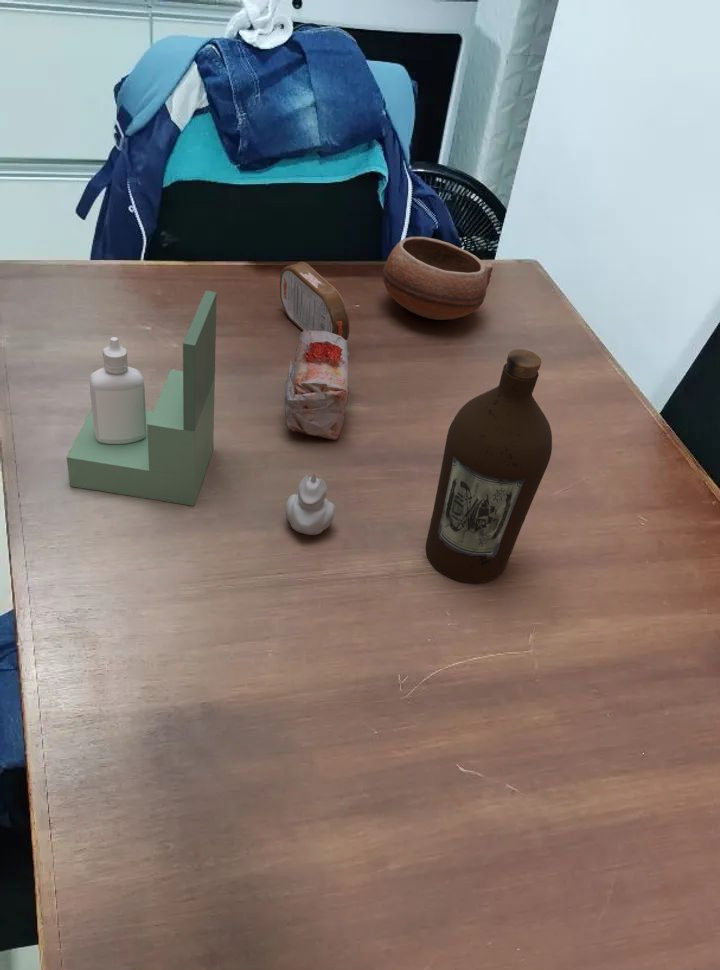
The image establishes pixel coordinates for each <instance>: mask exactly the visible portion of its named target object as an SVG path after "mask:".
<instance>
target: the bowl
mask: <svg viewBox="0 0 720 970" xmlns="http://www.w3.org/2000/svg"><path fill="white" fill-rule="evenodd" d="M493 270H494V269H493V265H492V263H489V262H485V261H483V260H482V259H480V258H479V257H477V255H476V254H475V255H474V254H473V253H471V252H469V251H467V250H466V249H464V248H461V247H459V246H456V245H454V244H453V243H450V242H446V241H443V240H440V239H437V238H432V237H427V236H409V237H406V238H403V239H402V240H400V241H399V242H398V243H397V244H396V245H395V246H394V247H393V249H392V250H391V252H390V253H389V255H388V257H387V259H386V261H385V263H384V265H383V270H382V281H383V284H384V287H385V288H386V291H387V292H388V294H389V296H391V298H392V299H393V300H394V301H395V302H397V304H399V305H400V306H401V307H402V308H404V309H406V310H408V311H409V312H411V313H413V314H415V315H418V316H420V317H422V318H426V319H430V320H435V321H436V320H437V321H445V320H446V321H447V320H455V319H459V318H462V317H465V316H468V315H469V314H472V313H475V312H476V311H477V310H478V309H479V308H480V307H481V306H482V305H483V303H484V300H485V298H486V296H487V295H486V294H487V289H488V286H489V284H490V282H491V278H492V272H493Z"/></svg>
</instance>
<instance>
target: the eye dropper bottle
mask: <svg viewBox="0 0 720 970" xmlns="http://www.w3.org/2000/svg"><path fill="white" fill-rule="evenodd" d="M102 356H103V367H101V368H98V369H97V370H95V371H94V372H92V373H91V374H90V376H89V391H90V392H89V393H90V401H91V403H90V404H91V409H92V415H93V426H94V433H95V436H96V439H97V440H98V441H99V442H101V443H105V444H126V443H132V442H136V441H139V440H141V439H143V438H145V436H146V410H147V409H146V393H145V392H146V391H145V380H144V377H143V374H142V372H141V371H140V370H139V369H137V368H135V367H131V366H129V364H128V363H129V362H128V351H127V349H126V348H125V347H124V346H121V345H120V342H119V339H118V337H115V336H114V337H110V341H109V345H108V346H105V347H104V348H103V349H102Z"/></svg>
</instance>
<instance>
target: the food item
mask: <svg viewBox="0 0 720 970" xmlns="http://www.w3.org/2000/svg"><path fill="white" fill-rule="evenodd" d="M348 343H349V342H348V339H347V340H345V339H344V338H342V337H341V336H339V335H336V334H333V333H330V332H327V331H310V330H306V331H301V332H300V334H299V337H298V343H297V346H296V350H295V353H294V355H295V356H294V362H293V364H292V360H290V362H289V369H288V373H287V377H286V378H287V379H286V380H285V394H284V403H285V404H284V407H285V411H284V412H285V420H286V426H287V428H288V431H290V430H291V431H292V432H298V433H300V434H304V435H308V436H312V437H316V438H317V437H318V438H322V439H323V438H324V439H327V440H336V441H337V439H338V438H339V437H340V434H341V431H342V428H343V426H344V421H345V417H346V411H347V405H348V404H347V403H348V395H350V390H349V381H350V380H349V379H350V373H349V371H350V370H349V361H350V352H349V348H348Z"/></svg>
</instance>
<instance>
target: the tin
mask: <svg viewBox="0 0 720 970" xmlns="http://www.w3.org/2000/svg"><path fill="white" fill-rule="evenodd" d="M279 297H280V302H281V304H282V307H283V310H284V312H285V314H286V316H287V318H289V320H290V321H291V322H292V323H293V324H294V325H295V326H296V327H297V328H298V329H299V330H300V331H301V332H303V331H306V330H310V331H327V332H330V333H333V334H336V335H339V336H341V337H342V338H344V339H345V340H347V341H348V339H349V336H350V316H349V311H348V307H347V305H346V303H345V300H344V299H343V297H342V295H341V293H340V292H339V291H338V289H336V288H335V286H333V285H332V284H331V283H330V282H329V281H328V280H327V279H325V278H324V277H323V276H321V275H320V274H319V273H318V272H317V271H316V270H315V269H314V268H313V267H312V266H311V265H309V264H308V263H307V262H304V261H298V262H296V263H294V264H289V265H287V266H284V268H282V270H281V272H280V276H279Z"/></svg>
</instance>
